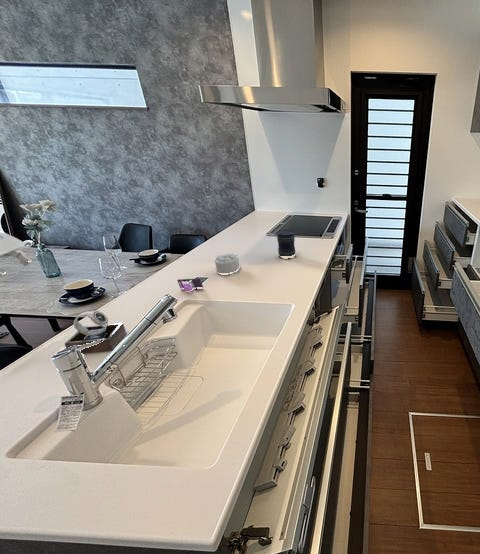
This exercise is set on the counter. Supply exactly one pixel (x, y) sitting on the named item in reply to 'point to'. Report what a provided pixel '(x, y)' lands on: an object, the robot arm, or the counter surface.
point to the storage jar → (286, 242)
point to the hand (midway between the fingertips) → (17, 269)
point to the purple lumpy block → (188, 287)
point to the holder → (108, 344)
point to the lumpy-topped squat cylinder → (227, 264)
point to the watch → (97, 319)
